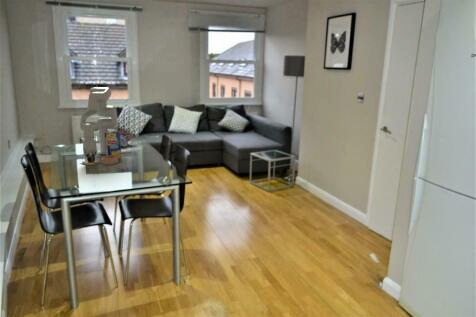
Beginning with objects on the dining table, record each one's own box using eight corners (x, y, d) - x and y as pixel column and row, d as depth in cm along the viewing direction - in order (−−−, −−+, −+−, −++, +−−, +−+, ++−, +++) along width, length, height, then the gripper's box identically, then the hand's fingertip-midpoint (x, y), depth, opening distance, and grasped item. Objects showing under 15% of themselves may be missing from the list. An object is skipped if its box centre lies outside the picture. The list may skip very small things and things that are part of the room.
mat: (92, 160, 308) (92, 160, 308) (103, 162, 302) (103, 162, 302) (79, 164, 297) (79, 163, 297) (90, 166, 291) (90, 165, 291)
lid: (92, 160, 308) (91, 153, 307) (104, 162, 302) (103, 154, 301) (78, 163, 296) (77, 156, 295) (90, 165, 290) (89, 158, 289)
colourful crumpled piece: (104, 144, 355) (112, 128, 352) (108, 139, 376) (116, 124, 373) (123, 154, 360) (132, 138, 358) (126, 148, 381) (134, 133, 378)
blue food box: (106, 158, 317) (104, 132, 312) (119, 156, 323) (117, 131, 318) (108, 159, 312) (106, 133, 307) (121, 158, 317) (119, 132, 312)
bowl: (110, 160, 309) (109, 154, 307) (120, 162, 303) (120, 156, 302) (98, 163, 298) (98, 157, 297) (109, 165, 293) (109, 159, 292)
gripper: (94, 137, 303) (96, 158, 308) (77, 140, 289) (79, 163, 294) (100, 137, 300) (102, 159, 304) (84, 141, 286) (86, 164, 290)
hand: (91, 161), depth 299 cm, fingers closed on lid, 3 cm apart
